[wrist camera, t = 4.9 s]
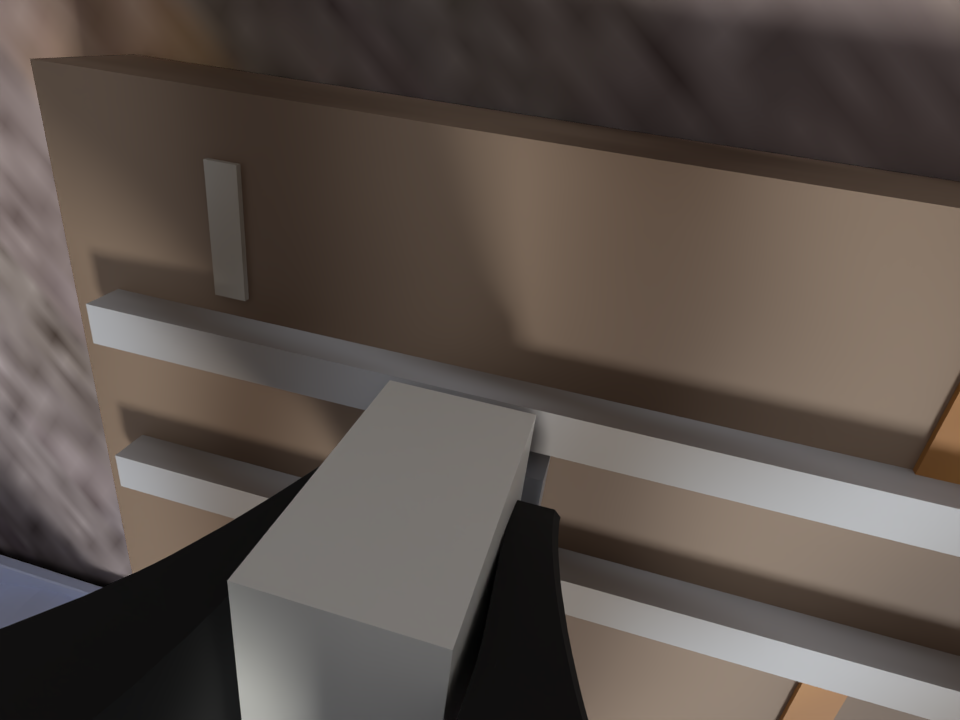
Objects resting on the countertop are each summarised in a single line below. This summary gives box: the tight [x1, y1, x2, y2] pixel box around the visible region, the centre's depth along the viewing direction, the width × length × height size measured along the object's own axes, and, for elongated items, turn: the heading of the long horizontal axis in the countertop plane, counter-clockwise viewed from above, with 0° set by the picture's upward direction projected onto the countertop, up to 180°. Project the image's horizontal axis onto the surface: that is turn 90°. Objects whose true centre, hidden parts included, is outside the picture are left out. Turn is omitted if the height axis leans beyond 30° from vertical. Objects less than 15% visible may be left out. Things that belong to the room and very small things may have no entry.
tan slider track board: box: [30, 54, 960, 720], centre depth 13 cm, size 20×12×3 cm, turn 84°
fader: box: [227, 380, 550, 720], centre depth 10 cm, size 3×4×5 cm
